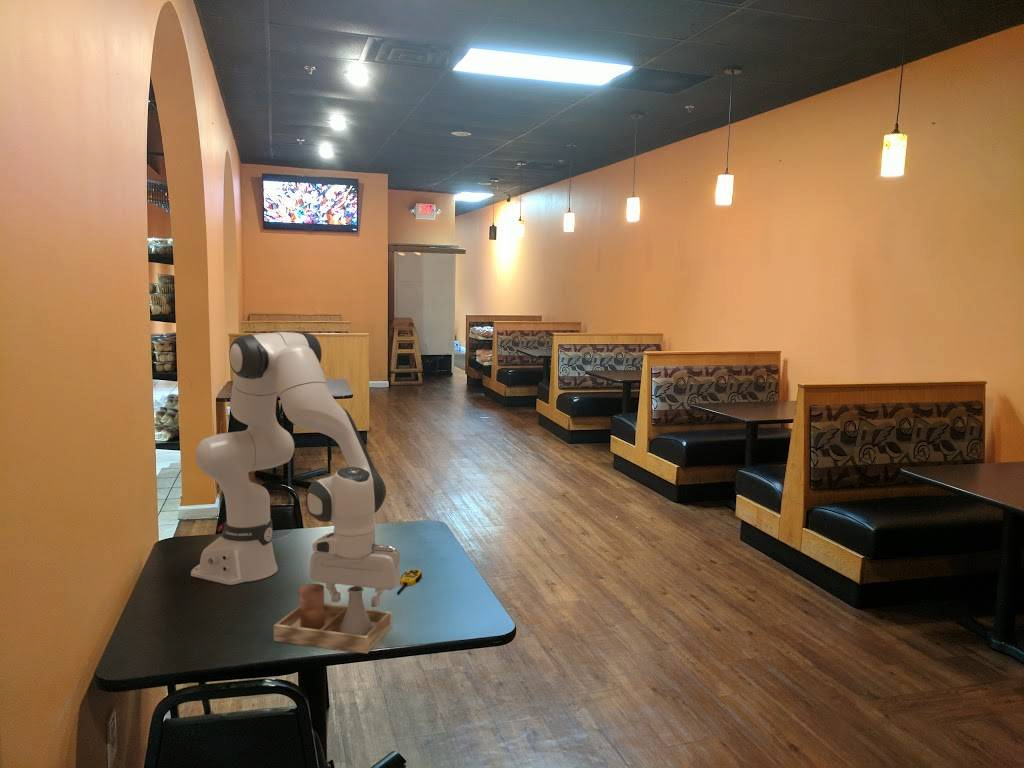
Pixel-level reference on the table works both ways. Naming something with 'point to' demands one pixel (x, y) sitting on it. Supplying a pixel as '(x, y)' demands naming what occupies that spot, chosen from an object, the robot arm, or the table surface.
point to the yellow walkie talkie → (410, 578)
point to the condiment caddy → (327, 624)
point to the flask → (356, 614)
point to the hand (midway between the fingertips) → (355, 603)
